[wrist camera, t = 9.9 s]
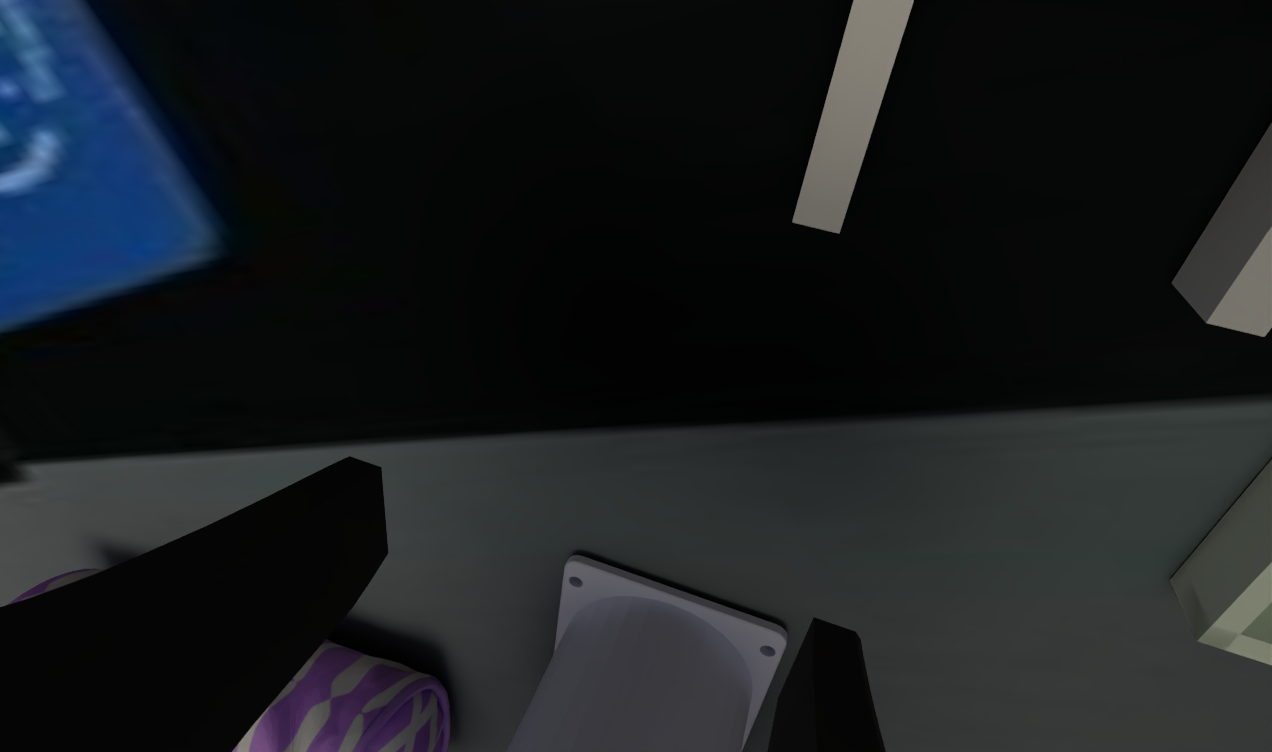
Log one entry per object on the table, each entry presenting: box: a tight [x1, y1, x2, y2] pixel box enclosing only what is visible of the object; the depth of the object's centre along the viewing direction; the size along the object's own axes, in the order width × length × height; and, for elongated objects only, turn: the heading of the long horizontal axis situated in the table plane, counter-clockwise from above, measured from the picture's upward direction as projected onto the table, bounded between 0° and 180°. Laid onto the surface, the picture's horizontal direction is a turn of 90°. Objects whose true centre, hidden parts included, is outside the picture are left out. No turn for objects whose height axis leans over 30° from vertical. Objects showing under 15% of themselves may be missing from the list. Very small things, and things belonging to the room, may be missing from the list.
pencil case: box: [8, 569, 451, 752], centre depth 31 cm, size 22×9×10 cm, turn 93°
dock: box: [792, 0, 1272, 337], centre depth 11 cm, size 9×12×6 cm
